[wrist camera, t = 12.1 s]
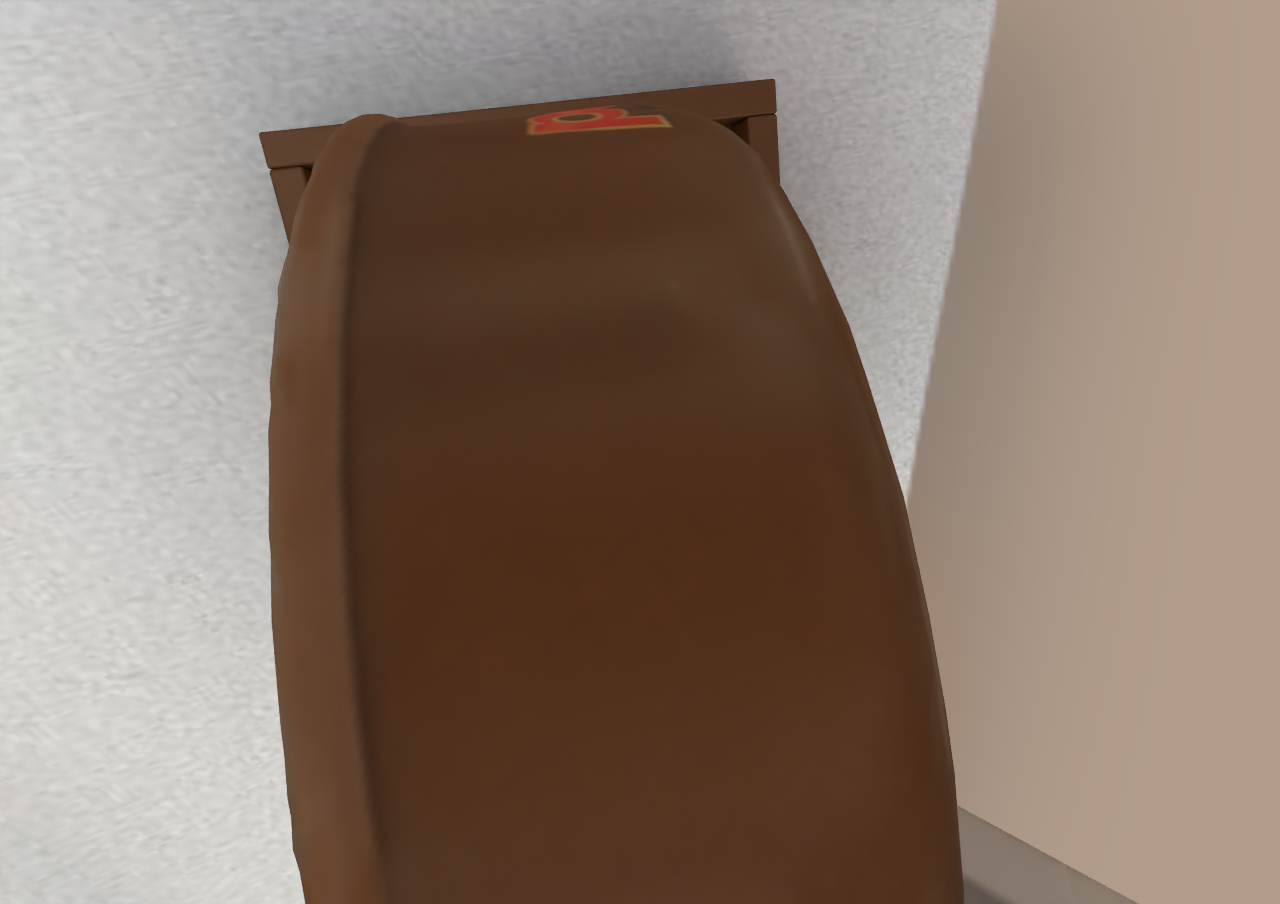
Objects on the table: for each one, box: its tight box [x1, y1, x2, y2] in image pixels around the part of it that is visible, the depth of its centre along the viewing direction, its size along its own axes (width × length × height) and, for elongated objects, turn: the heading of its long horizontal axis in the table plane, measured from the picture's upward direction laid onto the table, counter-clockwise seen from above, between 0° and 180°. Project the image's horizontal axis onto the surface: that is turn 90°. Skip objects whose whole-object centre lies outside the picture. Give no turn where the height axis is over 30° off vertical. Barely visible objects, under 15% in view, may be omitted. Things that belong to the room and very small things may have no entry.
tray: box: [259, 79, 780, 243], centre depth 20 cm, size 19×13×2 cm
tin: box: [268, 104, 964, 904], centre depth 7 cm, size 15×3×8 cm, turn 6°
